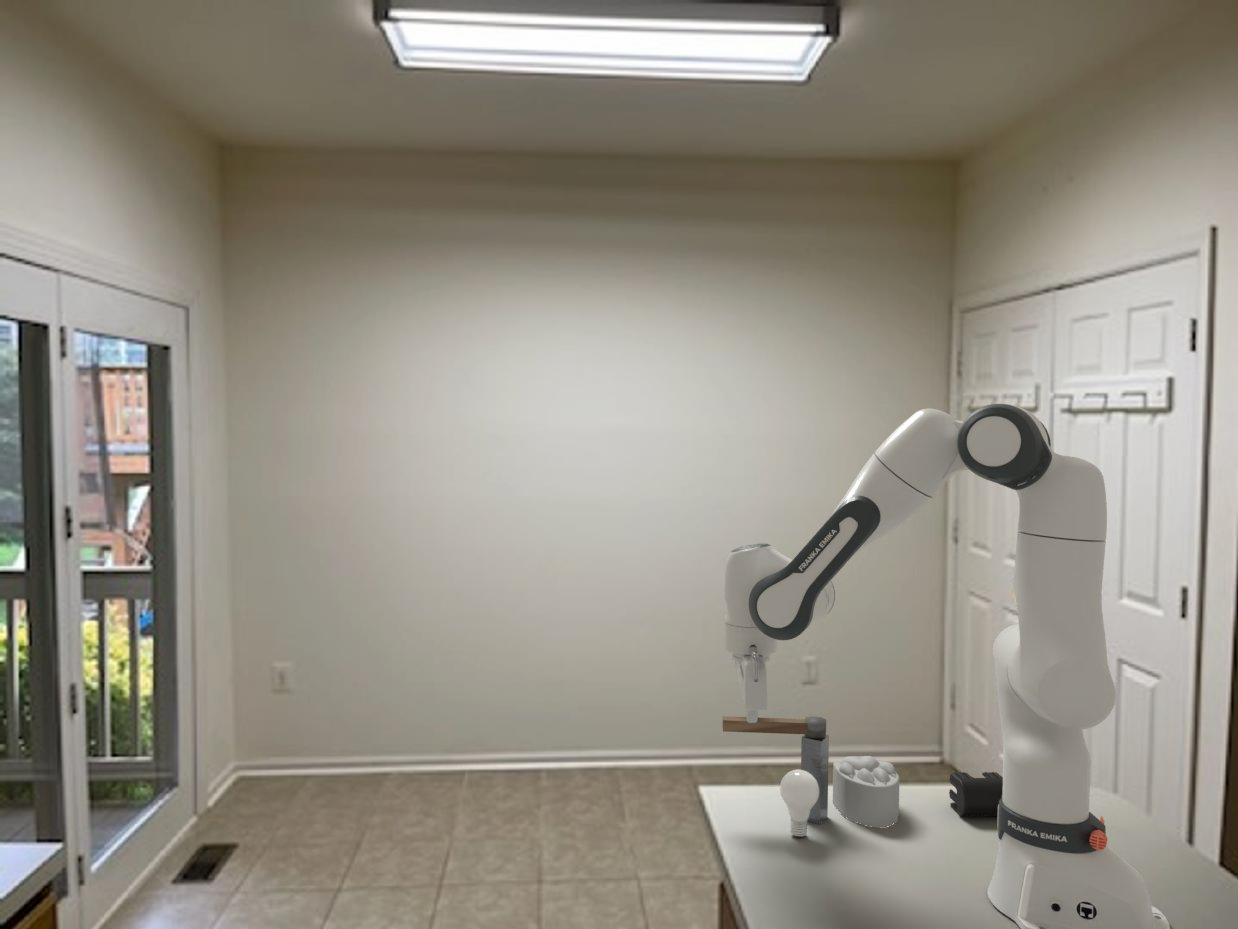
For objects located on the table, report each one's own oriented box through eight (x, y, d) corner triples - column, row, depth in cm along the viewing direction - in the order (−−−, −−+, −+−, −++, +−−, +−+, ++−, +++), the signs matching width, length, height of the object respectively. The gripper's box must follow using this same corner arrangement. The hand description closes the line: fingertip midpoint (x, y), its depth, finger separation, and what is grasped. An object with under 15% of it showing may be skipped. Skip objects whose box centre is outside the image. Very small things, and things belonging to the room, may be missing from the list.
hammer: (827, 738, 146) (827, 723, 146) (723, 734, 147) (723, 720, 147) (824, 731, 150) (824, 716, 149) (722, 727, 151) (722, 713, 151)
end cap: (964, 824, 147) (965, 785, 147) (946, 806, 154) (947, 769, 154) (1020, 823, 147) (1021, 784, 147) (1000, 805, 154) (1001, 768, 154)
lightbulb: (815, 828, 144) (816, 764, 144) (820, 846, 138) (822, 779, 138) (777, 826, 145) (778, 762, 145) (781, 844, 139) (782, 777, 138)
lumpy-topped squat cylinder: (881, 796, 158) (882, 749, 158) (911, 828, 145) (912, 777, 145) (826, 797, 157) (827, 751, 157) (851, 829, 144) (852, 779, 144)
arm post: (827, 817, 149) (829, 735, 148) (820, 824, 146) (821, 741, 145) (807, 811, 151) (809, 731, 150) (800, 819, 148) (801, 737, 147)
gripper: (776, 654, 134) (776, 742, 134) (764, 626, 154) (764, 702, 154) (735, 654, 134) (736, 741, 134) (729, 626, 155) (729, 702, 155)
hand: (751, 720), depth 145 cm, fingers closed
